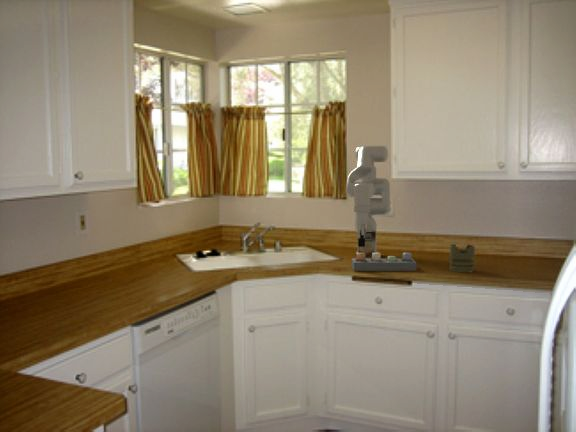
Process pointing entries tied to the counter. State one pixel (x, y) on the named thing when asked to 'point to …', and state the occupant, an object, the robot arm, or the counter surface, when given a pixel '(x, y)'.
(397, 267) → the console
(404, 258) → the slate button
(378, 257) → the cream button
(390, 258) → the sage button
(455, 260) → the olive tactical vest
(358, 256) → the terracotta button
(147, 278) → the counter surface
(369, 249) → the coffee box
